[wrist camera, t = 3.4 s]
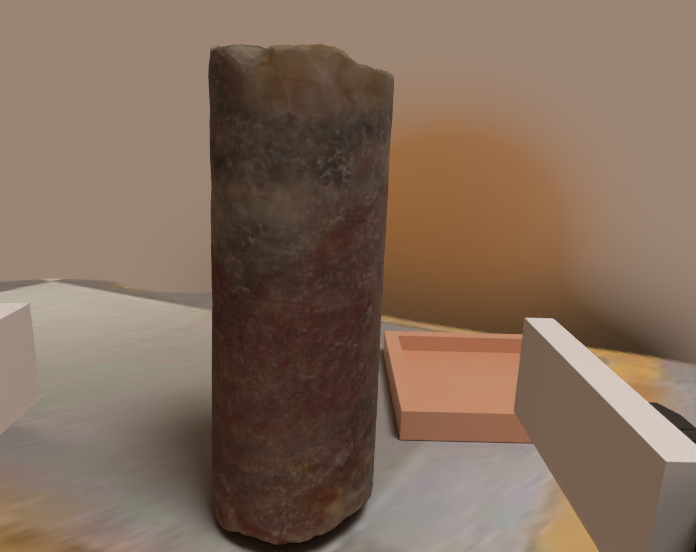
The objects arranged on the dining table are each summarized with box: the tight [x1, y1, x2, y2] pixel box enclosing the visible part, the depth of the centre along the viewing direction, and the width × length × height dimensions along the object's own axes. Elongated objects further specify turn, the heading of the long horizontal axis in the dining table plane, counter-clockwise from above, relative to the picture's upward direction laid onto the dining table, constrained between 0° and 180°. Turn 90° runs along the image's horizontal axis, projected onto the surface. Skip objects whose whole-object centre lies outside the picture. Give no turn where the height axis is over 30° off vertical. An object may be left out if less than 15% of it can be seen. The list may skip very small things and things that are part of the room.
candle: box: [208, 44, 394, 545], centre depth 23 cm, size 8×7×20 cm
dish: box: [383, 331, 533, 443], centre depth 38 cm, size 13×13×2 cm
